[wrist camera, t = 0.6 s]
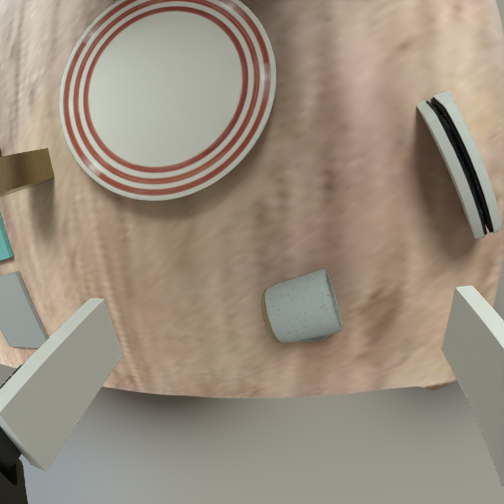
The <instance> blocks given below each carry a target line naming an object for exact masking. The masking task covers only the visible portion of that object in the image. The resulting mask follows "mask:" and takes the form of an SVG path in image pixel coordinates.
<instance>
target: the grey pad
mask: <svg viewBox="0 0 504 504" xmlns="http://www.w3.org/2000/svg"><path fill="white" fill-rule="evenodd" d="M0 330H1V332H2V334H3V336H4V338H5V340H6V341H7V343H8V345H9V346H11V347H25V348H40V347H41V346H42V345H43V344H44V343H45V342H46V341H47V340H48V339H49V337H48V335H47V333H46V331H45V329H44V327H43V325H42V323H41V321H40V318H39V316H38V314H37V312H36V310H35V308H34V305H33V303H32V301H31V298H30V296H29V294H28V291H27V289H26V287H25V284H24V282H23V279H22V277H21V274H20V271H17V272H13V273H8V274H4V275H0Z"/></svg>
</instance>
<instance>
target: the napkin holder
mask: <svg viewBox="0 0 504 504" xmlns="http://www.w3.org/2000/svg"><path fill="white" fill-rule="evenodd" d="M432 96H433V98H432V99H431V101H432V102H433V104H434V106H435V108H436V109H435V108H434V107H433V106H432V105H431V104H430V103H429V102H428V101H426V102H425V101H424V100H422V101H421V102H420V103H419V104H418V105H417V108H418V110H419V112H420V113H421V115H422V117H423V119H424V121H425V123H426V125H427V127H428V129H429V131H430V133H431V135H432V137H433V139H434V141H435V143H436V145H437V147H438V149H439V151H440V154H441V156H442V158H443V160H444V162H445V165H446V167H447V169H448V172H449V174H450V176H451V179H452V181H453V184H454V186H455V189H456V191H457V194H458V196H459V199H460V202H461V204H462V207H463V210H464V213H465V216H466V218H467V221H468V224H469V226H470V228H471V231H472V233H473V235H474V238H475V239H480V238H485V236H484V235H486V234H487V231H486V227H485V225H486V226H487V228H488V230H489V232H490V233H491V232H493V233H494V234H495V233H496V232H497V231H499V230H500V229H502V224H501V219H500V214H499V210H498V206H497V202H496V199H495V195H494V192H493V189H492V185H491V182H490V179H489V176H488V174H487V171H486V168H485V166H484V163H483V160H482V158H481V155H480V153H479V151H478V148H477V146H476V144H475V142H474V139H473V137H472V135H471V133H470V131H469V129H468V127H467V125H466V123H465V121H464V119H463V117H462V115H461V113H460V111H459V109H458V107H457V105H456V103H455V101H454V99H453V97H452V95H451V94H450V92H449V91H445V92H444V93H440V94H436V95H432ZM456 146H457V147H458V148H459V149H460V151H461V154H462V156H463V158H464V161H465V163H466V166H467V168H468V172H467V170H466V168H465V165H464V163H463V161H462V158H461V156H460V154H459V151H458V149H457V147H456Z"/></svg>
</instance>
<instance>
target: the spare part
mask: <svg viewBox="0 0 504 504" xmlns="http://www.w3.org/2000/svg"><path fill="white" fill-rule="evenodd" d="M53 177H54V173H53V169H52V165H51V160H50V156H49V151H48V148H46V149H40V150H35V151H29V152H23V153H18V154H13V155H8V156H3V157H0V197H2V196H5V195H8V194H10V193H13V192H16V191H20V190H23V189H26V188H29V187H32V186H35V185H38V184H40V183H42V182H44V181H46V180H49V179H51V178H53Z"/></svg>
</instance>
